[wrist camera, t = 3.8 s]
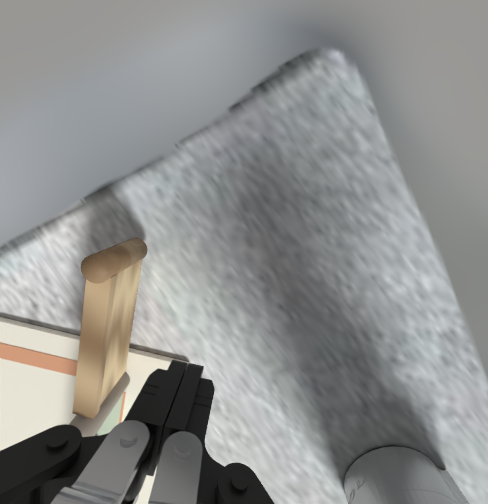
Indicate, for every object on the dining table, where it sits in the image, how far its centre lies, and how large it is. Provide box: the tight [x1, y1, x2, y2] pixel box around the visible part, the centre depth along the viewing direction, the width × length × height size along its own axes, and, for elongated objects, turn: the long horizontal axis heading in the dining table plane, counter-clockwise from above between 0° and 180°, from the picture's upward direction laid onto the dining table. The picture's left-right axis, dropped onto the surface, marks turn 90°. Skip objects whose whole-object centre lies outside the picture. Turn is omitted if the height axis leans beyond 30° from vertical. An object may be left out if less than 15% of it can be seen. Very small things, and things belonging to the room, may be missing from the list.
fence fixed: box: [69, 372, 130, 437], centre depth 25 cm, size 2×15×7 cm, turn 167°
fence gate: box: [72, 238, 147, 419], centre depth 21 cm, size 12×2×6 cm, turn 167°
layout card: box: [0, 317, 189, 504], centre depth 28 cm, size 20×18×1 cm
